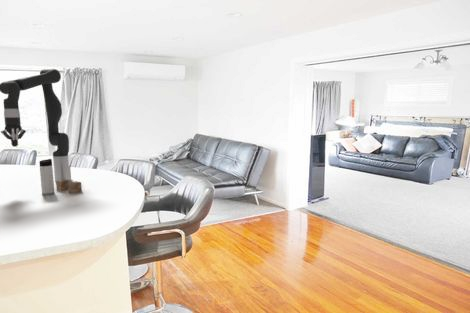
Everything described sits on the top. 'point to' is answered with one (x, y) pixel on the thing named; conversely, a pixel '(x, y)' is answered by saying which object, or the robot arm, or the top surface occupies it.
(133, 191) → the top surface
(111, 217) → the top surface
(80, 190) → the walnut block one
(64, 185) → the walnut block two
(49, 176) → the travel mug
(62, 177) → the robot arm
